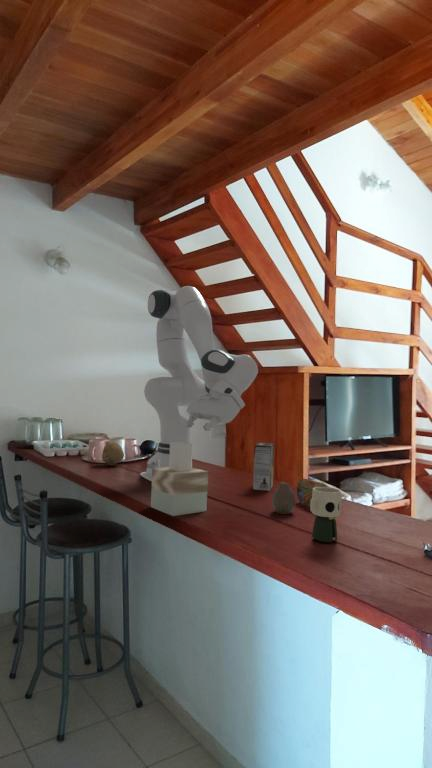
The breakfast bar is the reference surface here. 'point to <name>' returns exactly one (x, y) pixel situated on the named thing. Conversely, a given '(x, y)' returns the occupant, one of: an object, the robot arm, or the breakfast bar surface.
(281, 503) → the vase
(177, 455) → the offwhite block
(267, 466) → the coffee box
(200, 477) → the tower top
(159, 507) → the tower base
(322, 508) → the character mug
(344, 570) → the breakfast bar surface
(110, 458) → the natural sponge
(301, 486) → the tin
